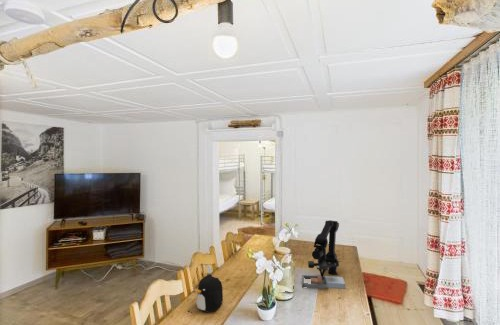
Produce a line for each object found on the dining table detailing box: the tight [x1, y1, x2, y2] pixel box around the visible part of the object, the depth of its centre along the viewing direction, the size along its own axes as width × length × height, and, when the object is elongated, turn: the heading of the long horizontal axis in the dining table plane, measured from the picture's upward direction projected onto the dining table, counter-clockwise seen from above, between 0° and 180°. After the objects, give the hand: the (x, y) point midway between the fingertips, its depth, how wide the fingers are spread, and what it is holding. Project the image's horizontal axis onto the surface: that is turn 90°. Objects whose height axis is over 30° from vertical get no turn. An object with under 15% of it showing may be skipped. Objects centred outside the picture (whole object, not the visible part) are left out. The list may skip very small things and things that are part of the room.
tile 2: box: [317, 274, 322, 284], centre depth 178 cm, size 5×5×2 cm
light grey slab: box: [324, 275, 346, 290], centre depth 175 cm, size 10×12×4 cm
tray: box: [301, 274, 328, 290], centre depth 178 cm, size 14×16×2 cm
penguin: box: [195, 274, 224, 312], centre depth 153 cm, size 18×18×17 cm
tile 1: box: [311, 278, 318, 284], centre depth 178 cm, size 5×5×2 cm
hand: (322, 277), depth 177 cm, fingers closed
